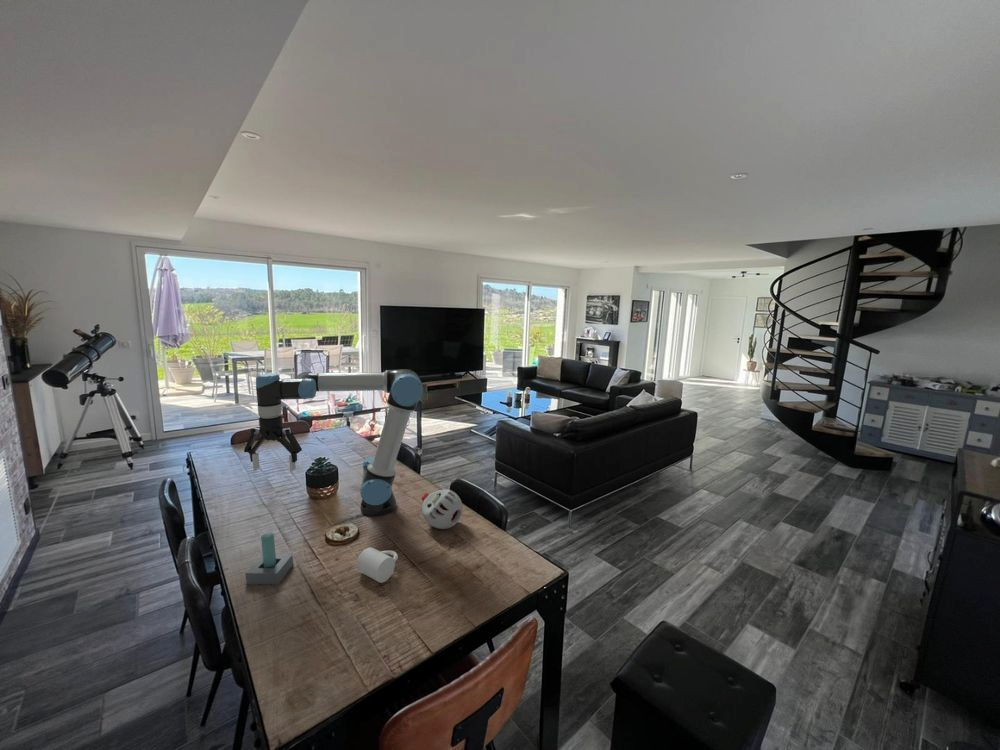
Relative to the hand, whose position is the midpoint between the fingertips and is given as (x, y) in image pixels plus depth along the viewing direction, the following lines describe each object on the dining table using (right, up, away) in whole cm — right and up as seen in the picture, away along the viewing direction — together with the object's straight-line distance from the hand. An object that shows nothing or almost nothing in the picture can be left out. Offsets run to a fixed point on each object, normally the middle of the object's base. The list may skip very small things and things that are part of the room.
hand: (274, 469), depth 151 cm
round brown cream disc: (+23, -28, +5) cm, 36 cm away
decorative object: (+60, -26, +15) cm, 67 cm away
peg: (+9, -31, -18) cm, 36 cm away
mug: (+45, -31, -15) cm, 57 cm away
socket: (+9, -31, -18) cm, 36 cm away
